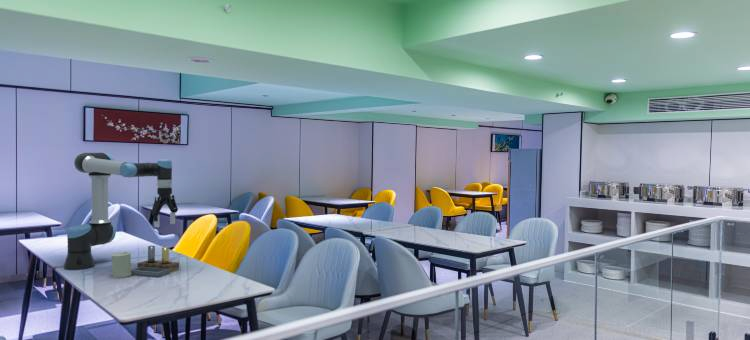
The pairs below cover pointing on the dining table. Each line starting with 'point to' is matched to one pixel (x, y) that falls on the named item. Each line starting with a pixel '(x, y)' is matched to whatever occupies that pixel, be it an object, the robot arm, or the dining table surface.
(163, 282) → the dining table surface
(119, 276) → the can
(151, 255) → the steel pin
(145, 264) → the block
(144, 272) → the tray
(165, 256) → the brass pin
